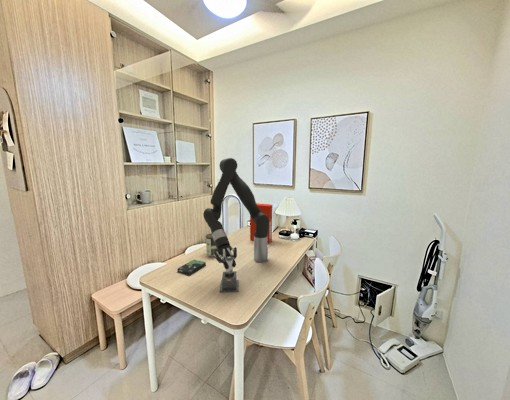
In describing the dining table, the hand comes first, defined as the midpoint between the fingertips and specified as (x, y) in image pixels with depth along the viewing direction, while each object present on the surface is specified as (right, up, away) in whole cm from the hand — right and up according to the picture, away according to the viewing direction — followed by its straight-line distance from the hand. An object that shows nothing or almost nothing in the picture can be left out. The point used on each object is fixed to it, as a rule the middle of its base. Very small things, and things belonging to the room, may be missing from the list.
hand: (231, 267), depth 111 cm
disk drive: (-28, -9, +23) cm, 37 cm away
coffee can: (-18, -4, +46) cm, 50 cm away
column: (-1, -7, +3) cm, 8 cm away
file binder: (+18, 0, +73) cm, 75 cm away
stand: (-1, -11, +4) cm, 12 cm away
